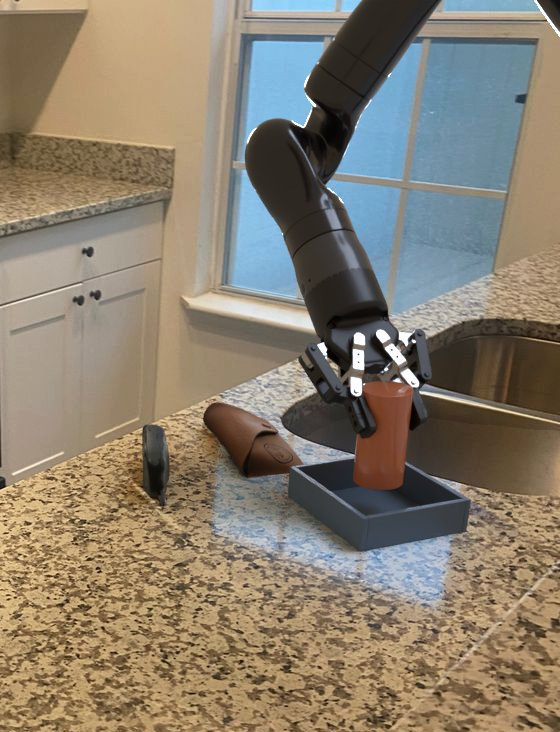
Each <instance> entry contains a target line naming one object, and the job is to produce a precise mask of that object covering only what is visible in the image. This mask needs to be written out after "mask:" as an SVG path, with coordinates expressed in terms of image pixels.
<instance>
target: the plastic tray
mask: <svg viewBox="0 0 560 732" xmlns="http://www.w3.org/2000/svg"><path fill="white" fill-rule="evenodd" d="M354 460H355V455H354V456H353V455H352V456H348V457H347V456H346V457H341V458H334V459H329V460H324V461H317V462H311V463H303V464H304V465H298V466H291V467H290V470H289V473H288V483H287V484H288V485H287V498H289V499H290V500H291V501H292V502H294V503H295V504H296V505H298V506H299V507H301V508H302V510H304V511H306V512H307V513H308V514H310V515H311V516H312V517H314V518H315V519H316V520H318V521H319V522H320V523H321V524H323V525H324V526H326V527H327V528H328V529H329V530H331V531H332V532H333V533H335V534H336V535H337V536H338V537H340V538H341V539H342V540H344V541H345V542H346V543H348V545H350V546H352V547H353V548H354V549H356V550H357V551H358V552H359V553H362V552H368V551H373V550H377V549H382V548H383V549H384V548H387V547H389V548H390V547H395V546H399V545H404V544H410V543H415V542H420V541H425V540H430V539H435V538H441V537H446V536H451V535H456V534H463V533H466V532H467V530H468V524H469V523H468V522H469V517H470V510H471V504H472V499H470V498H469V497H467V496H466V495H464V494H462V493H460V492H458V491H457V490H455V489H454V488H452V487H450V486H448V485H447V484H445V483H444V482H442V481H440V480H439V479H437V478H435V477H433V476H431V475H429V474H428V473H426V472H425V471H423V470H422V469H419V468H418V467H416V466H414V465H412V464H411V463H410V462H408V461H406V463H405V471H404V480H403V484H402V485H401V486H400V487H398V488H396V489H391V490H373V489H368V488H364V487H361V486H359V485H357V484H356V483H355V482H354V481H353V471H354Z"/></svg>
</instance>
